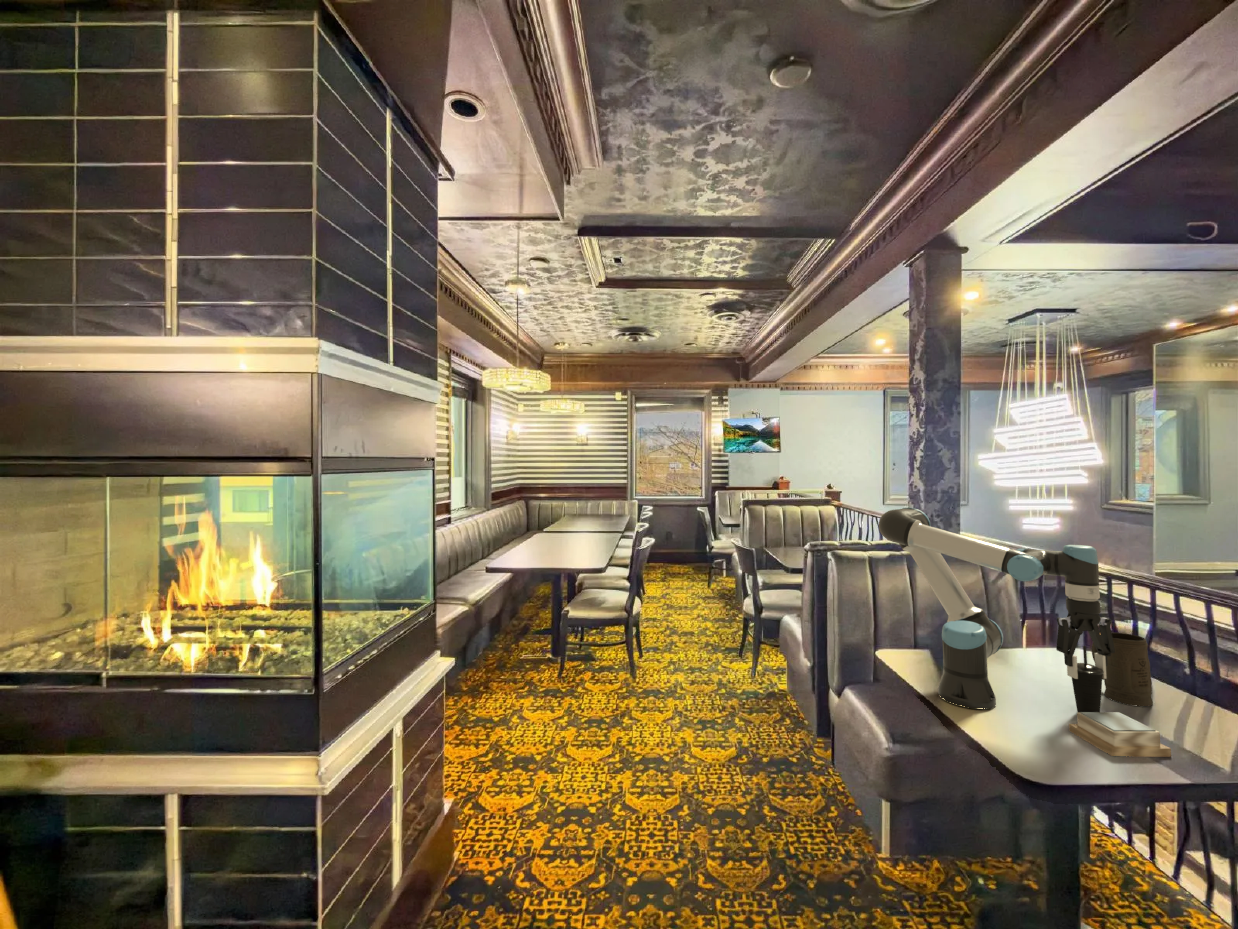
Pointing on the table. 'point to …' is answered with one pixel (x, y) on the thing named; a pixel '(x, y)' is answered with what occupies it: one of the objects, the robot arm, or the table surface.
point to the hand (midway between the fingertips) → (1086, 677)
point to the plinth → (1120, 749)
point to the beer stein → (1128, 671)
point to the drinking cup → (1088, 686)
